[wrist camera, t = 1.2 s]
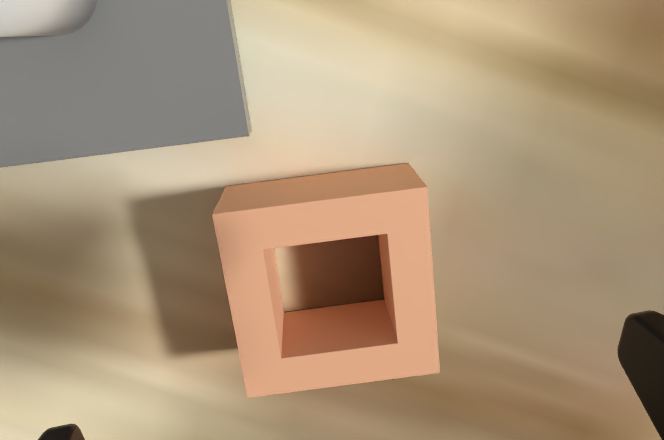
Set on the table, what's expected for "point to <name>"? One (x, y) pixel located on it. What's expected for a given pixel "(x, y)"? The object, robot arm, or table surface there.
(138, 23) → the post plate
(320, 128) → the table surface
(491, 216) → the table surface
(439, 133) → the table surface
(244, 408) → the table surface
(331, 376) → the ring
